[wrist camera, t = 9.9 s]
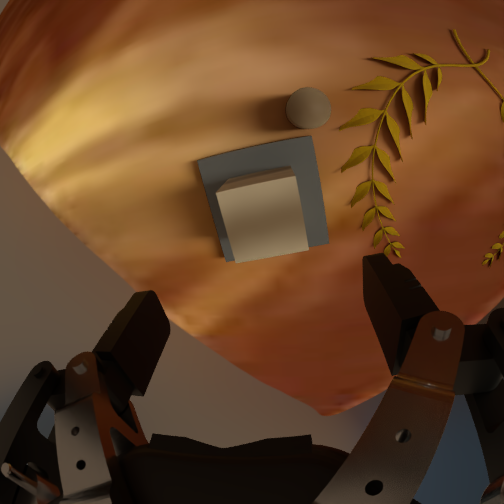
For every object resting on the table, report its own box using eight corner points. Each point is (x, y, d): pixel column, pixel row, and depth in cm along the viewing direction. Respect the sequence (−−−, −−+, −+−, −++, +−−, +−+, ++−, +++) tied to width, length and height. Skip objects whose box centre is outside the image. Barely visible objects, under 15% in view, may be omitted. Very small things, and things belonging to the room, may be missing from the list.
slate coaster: (200, 159, 26) (197, 160, 25) (309, 135, 24) (311, 135, 23) (227, 256, 30) (226, 261, 29) (327, 239, 29) (329, 243, 28)
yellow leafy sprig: (339, -8, 17) (320, 251, 30) (342, -14, 16) (323, 258, 29) (538, 91, 16) (511, 267, 28) (545, 92, 14) (517, 272, 27)
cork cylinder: (281, 96, 23) (283, 91, 19) (318, 91, 22) (325, 84, 19) (290, 131, 24) (293, 131, 21) (326, 125, 24) (335, 125, 20)
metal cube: (228, 178, 26) (215, 192, 20) (290, 165, 25) (295, 175, 19) (243, 235, 28) (235, 263, 23) (301, 224, 27) (308, 249, 22)
